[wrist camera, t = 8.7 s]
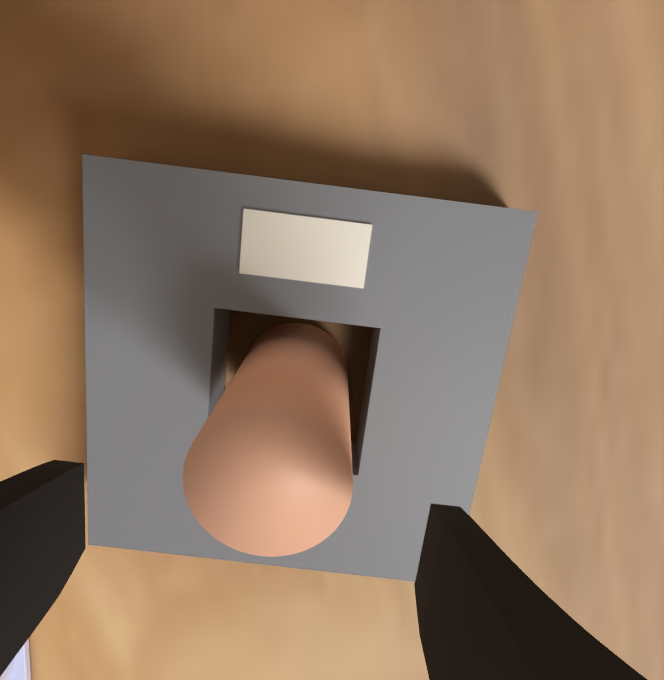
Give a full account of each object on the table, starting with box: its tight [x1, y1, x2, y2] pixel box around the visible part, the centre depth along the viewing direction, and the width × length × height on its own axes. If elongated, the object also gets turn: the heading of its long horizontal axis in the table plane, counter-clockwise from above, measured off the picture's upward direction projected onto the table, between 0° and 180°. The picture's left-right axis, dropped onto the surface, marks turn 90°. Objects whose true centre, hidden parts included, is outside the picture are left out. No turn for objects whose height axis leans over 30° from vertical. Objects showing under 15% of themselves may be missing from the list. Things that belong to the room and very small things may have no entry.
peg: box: [183, 323, 353, 557], centre depth 15 cm, size 4×4×8 cm
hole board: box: [82, 154, 538, 582], centre depth 18 cm, size 14×14×3 cm
